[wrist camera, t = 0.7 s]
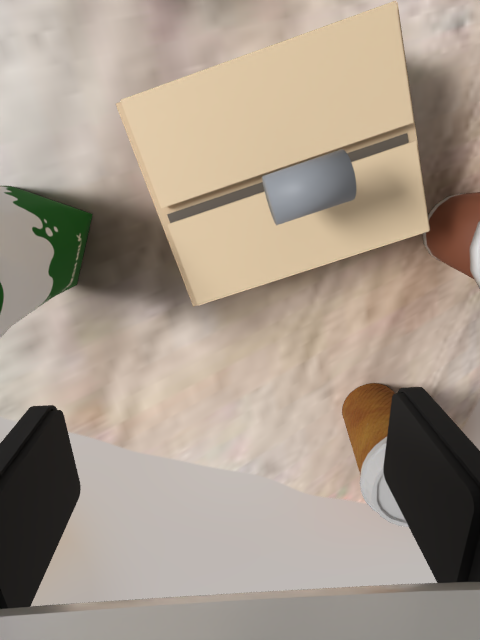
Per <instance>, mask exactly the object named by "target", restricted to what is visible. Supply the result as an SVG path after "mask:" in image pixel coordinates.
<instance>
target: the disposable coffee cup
mask: <svg viewBox="0 0 480 640" xmlns="http://www.w3.org/2000/svg"><path fill="white" fill-rule="evenodd" d="M393 394H395V392H394V391H392V389H390V388H389V387H387V386H385V385H382V384H377V383H371V384H366V385H363V386H360V387H358V388H356V389H355V390H354V391H352V392H351V393H350V394H349V395H348V397H347V398H346V400H345V401H344V404H343V408H342V415H343V418H344V421H345V424H346V428H347V431H348V435H349V438H350V441H351V445H352V448H353V452H354V455H355V458H356V461H357V465H358V468H359V471H360V475H361V477H360V487H361V492H362V495H363V497H364V499H365V501H366V503H367V504H368V505H369V506H370V507H371V508H372V509H373V510H374V511H376V512H377V513H378V514H379V515H380V516H381V517H383V518H384V519H386V520H387V521H388V522H390V523H393V524H396V525H399V526H404V527H409V526H408V524H407V522H406V520H405V518H404V516H403V514H402V512H401V510H400V508H399V506H398V504H397V502H396V501H395V499H394V497H393V495H392V493H391V491H390V489H389V487H388V485H387V483H386V481H385V478H384V473H383V466H384V458H385V450H386V442H387V434H388V426H389V418H390V410H391V401H392V396H393Z"/></svg>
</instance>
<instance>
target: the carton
mask: <svg viewBox="0 0 480 640" xmlns="http://www.w3.org/2000/svg"><path fill="white" fill-rule="evenodd" d="M120 101H121V102H119V103H116V106H117V109H118V111H119V114H120V117H121V119H122V122H123V124H124V127H125V130H126V132H127V135H128V138H129V140H130V143H131V145H132V148H133V151H134V153H135V156H136V158H137V161H138V164H139V166H140V169H141V172H142V174H143V177H144V179H145V182H146V185H147V187H148V190H149V192H150V195H151V198H152V200H153V203H154V205H155V208H156V211H157V213H158V216H159V219H160V221H161V224H162V226H163V229H164V232H165V234H166V237H167V239H168V242H169V245H170V247H171V250H172V253H173V255H174V258H175V260H176V263H177V266H178V268H179V271H180V273H181V276H182V279H183V281H184V284H185V287H186V289H187V292H188V294H189V297H190V300H191V302H192V305H193V306H197V302H196V299H195V297H194V294H193V291H192V289H191V286H190V283H189V281H188V278H187V275H186V273H185V270H184V267H183V265H182V262H181V260H180V257H179V254H178V252H177V249H176V246H175V244H174V241H173V238H172V236H171V233H170V230H169V228H168V224H170V223H173V222H175V221H178V220H181V219H184V218H187V217H190V216H193V215H196V214H199V213H202V212H205V211H208V210H211V209H214V208H217V207H220V206H223V205H226V204H229V203H232V202H235V201H238V200H241V199H244V198H247V197H250V196H252V195H255V194H258V193H261V192H264V187H263V181H262V176H264V175H267V174H270V173H273V172H276V171H279V170H282V169H285V168H288V167H291V166H294V165H297V164H300V163H303V162H305V161H308V160H311V159H314V158H317V157H320V156H323V155H326V154H329V153H332V152H335V151H338V150H341V149H343V150H345V151H346V153H347V154H348V156H349V158H350V160H351V162H353V161H356V160H359V159H362V158H365V157H368V156H371V155H374V154H377V153H380V152H383V151H386V150H389V149H392V148H395V147H398V146H401V145H404V144H407V143H410V142H412V141H416V143H417V150H418V157H419V164H420V171H421V178H422V185H423V191H424V184H423V177H422V170H421V163H420V156H419V149H418V142H417V135H416V128H415V121H414V114H413V107H412V100H411V94H410V87H409V80H408V73H407V66H406V59H405V52H404V45H403V38H402V31H401V24H400V17H399V10H398V3H396V1H393V2H391V3H388V4H385V5H382V6H380V7H377V8H374V9H371V10H368V11H366V12H363V13H360V14H357V15H355V16H352V17H349V18H346V19H344V20H341V21H338V22H335V23H332V24H330V25H327V26H324V27H321V28H319V29H316V30H313V31H310V32H307V33H305V34H302V35H299V36H296V37H294V38H291V39H288V40H285V41H283V42H280V43H277V44H274V45H271V46H269V47H266V48H263V49H260V50H258V51H255V52H252V53H249V54H246V55H244V56H241V57H238V58H235V59H233V60H230V61H227V62H224V63H222V64H219V65H216V66H213V67H210V68H208V69H205V70H202V71H199V72H197V73H194V74H191V75H188V76H185V77H183V78H180V79H177V80H174V81H172V82H169V83H166V84H163V85H161V86H158V87H155V88H152V89H149V90H147V91H144V92H141V93H138V94H136V95H133V96H130V97H127V98H124V99H122V100H120ZM424 198H425V191H424ZM425 205H426V198H425ZM426 212H427V205H426ZM427 219H428V212H427ZM428 226H429V219H428ZM429 230H430V226H429Z"/></svg>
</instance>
